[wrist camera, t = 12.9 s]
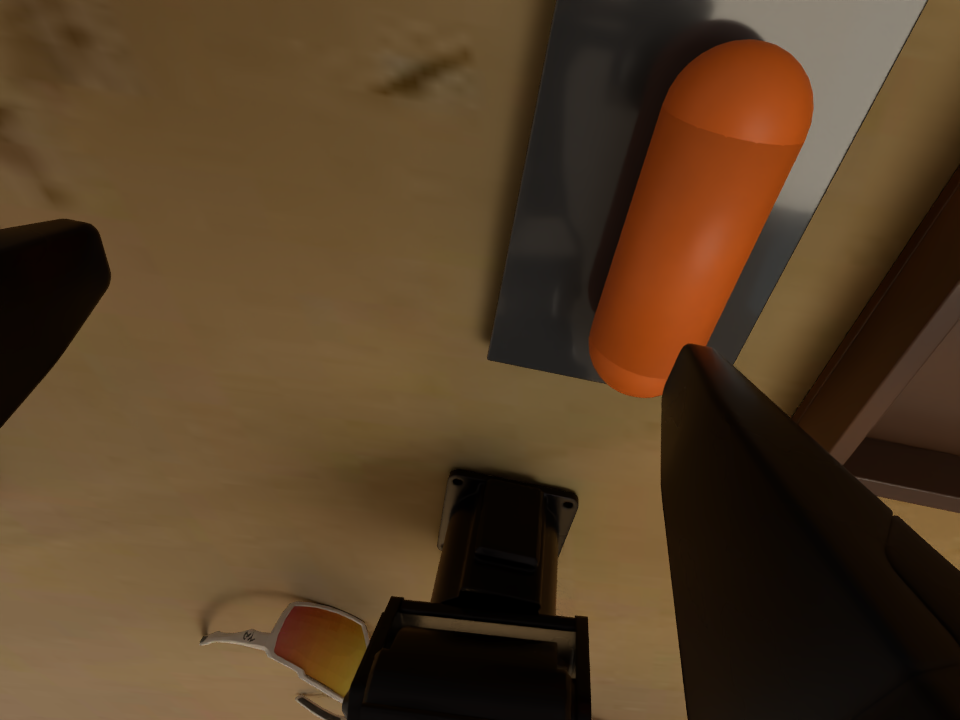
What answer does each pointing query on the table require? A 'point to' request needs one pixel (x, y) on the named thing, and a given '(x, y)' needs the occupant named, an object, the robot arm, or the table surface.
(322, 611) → the sunglasses
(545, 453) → the table surface
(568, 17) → the slate board
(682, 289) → the orange capsule
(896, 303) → the tray
